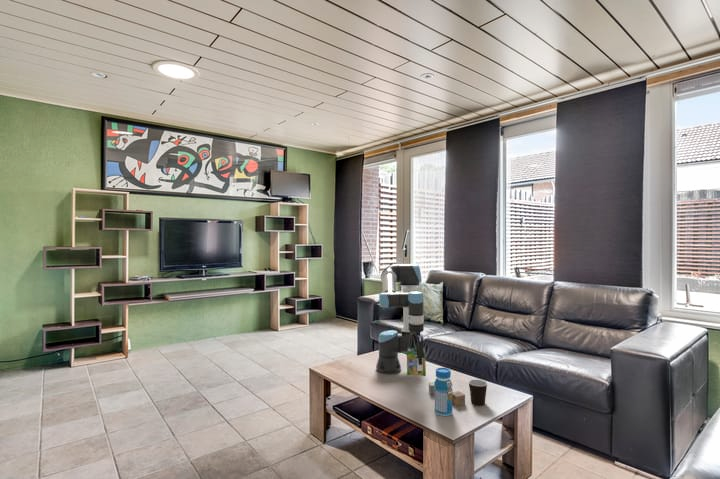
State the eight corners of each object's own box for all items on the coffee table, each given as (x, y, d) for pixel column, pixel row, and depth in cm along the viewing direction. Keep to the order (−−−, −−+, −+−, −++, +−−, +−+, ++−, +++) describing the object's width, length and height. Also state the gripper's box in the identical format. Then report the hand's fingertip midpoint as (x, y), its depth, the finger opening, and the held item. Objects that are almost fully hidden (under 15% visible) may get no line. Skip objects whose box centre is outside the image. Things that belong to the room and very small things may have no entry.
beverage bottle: (436, 416, 176) (435, 373, 176) (432, 408, 184) (432, 366, 184) (454, 416, 176) (454, 372, 176) (450, 408, 184) (450, 366, 184)
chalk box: (425, 376, 189) (425, 346, 188) (406, 375, 190) (406, 346, 190) (425, 369, 198) (425, 341, 197) (407, 368, 200) (407, 340, 199)
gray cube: (428, 391, 205) (428, 381, 205) (438, 391, 204) (438, 381, 204) (430, 395, 200) (430, 385, 200) (439, 395, 199) (439, 385, 199)
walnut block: (450, 402, 191) (450, 392, 190) (458, 400, 192) (458, 390, 192) (456, 406, 186) (456, 396, 186) (465, 404, 188) (464, 394, 188)
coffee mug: (484, 408, 184) (484, 387, 183) (466, 404, 188) (466, 384, 188) (490, 399, 193) (490, 379, 193) (473, 395, 198) (473, 376, 198)
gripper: (402, 318, 204) (403, 359, 205) (415, 329, 181) (415, 375, 182) (416, 317, 205) (416, 358, 206) (430, 328, 182) (431, 374, 183)
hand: (416, 366), depth 194 cm, fingers closed on chalk box, 11 cm apart
